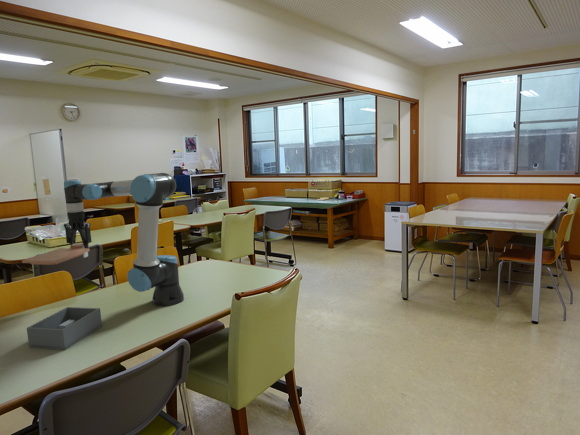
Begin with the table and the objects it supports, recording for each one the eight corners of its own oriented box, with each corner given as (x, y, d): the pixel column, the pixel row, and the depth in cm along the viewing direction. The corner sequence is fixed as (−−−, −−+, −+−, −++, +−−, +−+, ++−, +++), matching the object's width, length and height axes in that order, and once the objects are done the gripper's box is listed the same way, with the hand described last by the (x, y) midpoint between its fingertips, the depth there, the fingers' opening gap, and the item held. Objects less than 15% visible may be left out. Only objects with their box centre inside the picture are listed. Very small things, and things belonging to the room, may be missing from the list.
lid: (99, 249, 210) (98, 242, 210) (55, 266, 181) (54, 258, 180) (70, 249, 213) (69, 242, 213) (22, 265, 184) (21, 257, 184)
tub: (102, 326, 178) (100, 308, 177) (65, 350, 157) (62, 330, 156) (69, 324, 182) (67, 306, 180) (29, 347, 160) (26, 328, 159)
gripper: (96, 210, 207) (101, 255, 211) (65, 210, 211) (70, 254, 214) (86, 212, 200) (91, 259, 203) (54, 212, 203) (59, 258, 207)
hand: (80, 256), depth 209 cm, fingers closed on lid, 5 cm apart
